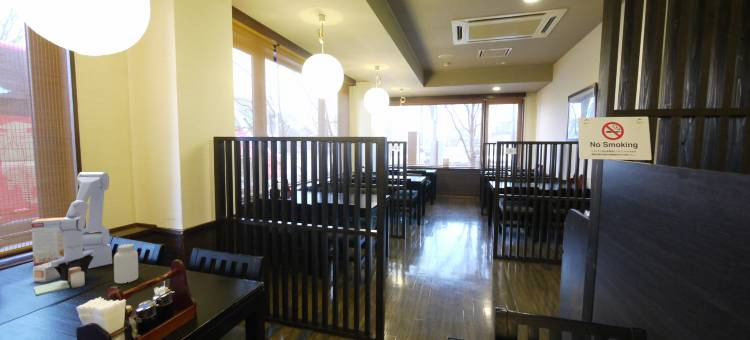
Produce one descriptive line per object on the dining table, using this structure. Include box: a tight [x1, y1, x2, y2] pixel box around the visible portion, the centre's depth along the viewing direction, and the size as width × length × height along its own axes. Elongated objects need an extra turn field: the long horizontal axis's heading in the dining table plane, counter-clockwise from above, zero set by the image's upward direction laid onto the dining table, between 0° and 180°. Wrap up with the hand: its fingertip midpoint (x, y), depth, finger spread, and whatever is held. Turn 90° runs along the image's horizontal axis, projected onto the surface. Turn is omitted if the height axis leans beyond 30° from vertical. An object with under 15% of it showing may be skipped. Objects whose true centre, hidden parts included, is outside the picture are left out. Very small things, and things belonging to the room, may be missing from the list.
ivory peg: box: [70, 271, 86, 288], centre depth 124 cm, size 4×4×5 cm
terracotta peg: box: [67, 266, 81, 283], centre depth 129 cm, size 4×4×5 cm
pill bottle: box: [113, 243, 139, 284], centre depth 130 cm, size 8×8×15 cm
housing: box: [32, 260, 68, 284], centre depth 130 cm, size 9×6×6 cm
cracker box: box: [31, 216, 66, 266], centre depth 148 cm, size 14×6×21 cm, turn 115°
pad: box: [33, 280, 71, 297], centre depth 122 cm, size 9×9×1 cm
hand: (74, 276), depth 129 cm, fingers open, 6 cm apart
